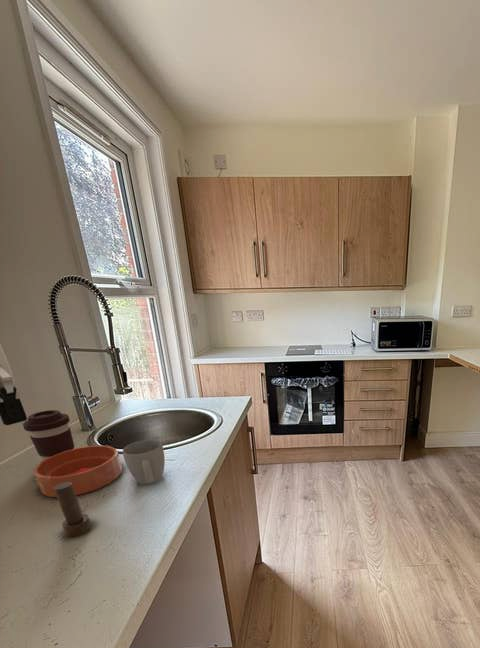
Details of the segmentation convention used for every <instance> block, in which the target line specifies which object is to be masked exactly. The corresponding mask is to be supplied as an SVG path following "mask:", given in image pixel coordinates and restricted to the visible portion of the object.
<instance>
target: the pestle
mask: <svg viewBox="0 0 480 648" xmlns="http://www.w3.org/2000/svg"><path fill="white" fill-rule="evenodd" d="M54 490H55V493H56V496H57V497H56V499H57V501H58V503H59V506H60V508H61V509H60V510H61V511H62V514H63V517H64V520H63V522H62V523H61V526H62V529H63V531H64V533H65V536H66V537H68V538H77V537H80V536H82V535H84V534H87V533H88V532H89V531H90V530H91V529H92V527H93V525H92V522H91V519H90V516H89V515H88V514H86V513H83V512H82V509H81V506H80V502H79V501H78V497H77V495H76V494H75V491H74V489H73V486H72V483H71V482H63V483H60V484H58V485H56V486H55V487H54Z"/></svg>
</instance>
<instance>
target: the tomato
mask: <svg viewBox="0 0 480 648" xmlns="http://www.w3.org/2000/svg"><path fill="white" fill-rule="evenodd" d="M87 470H90V469H87V468H83V469H80V470H79V471H77V473H80V472H83V471H87ZM77 473H76V474H77Z"/></svg>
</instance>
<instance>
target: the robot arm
mask: <svg viewBox="0 0 480 648" xmlns="http://www.w3.org/2000/svg"><path fill="white" fill-rule="evenodd" d="M0 419H1V421H2V424H3V425H5V426H12V425H14V424H15V425H16V424H19V423H23V422H25V421H27V420H28V416H27V414H26V411H25V409H24V406H23V404H22V401H21V397H20V395H19V393H18V391H17V386H15V379H14V374H13V371H12V370H11V365H10V363H9V360H8V359H7V356H6V354H5V351H4V350H3V346H2V345H1V344H0Z"/></svg>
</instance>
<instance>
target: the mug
mask: <svg viewBox="0 0 480 648" xmlns="http://www.w3.org/2000/svg"><path fill="white" fill-rule="evenodd" d="M122 456H123V459H124V463H125V465H126V467H127V469H128V471H129V473H130V475H131V476H132V477H133V478H134V479H135V481H136V482H137V483H138V484H140V485H143V486H144V485H151V484H155V483H157V482H159V481H160V480H162V478H163V475H164V471H165V465H166V461H165V459H166V458H165V451H164V446H163V442H162V441H160V440H158V439H142V440H137V441H135V442H132V443H129V444H127V445H126V446H124V447H123V449H122Z"/></svg>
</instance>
